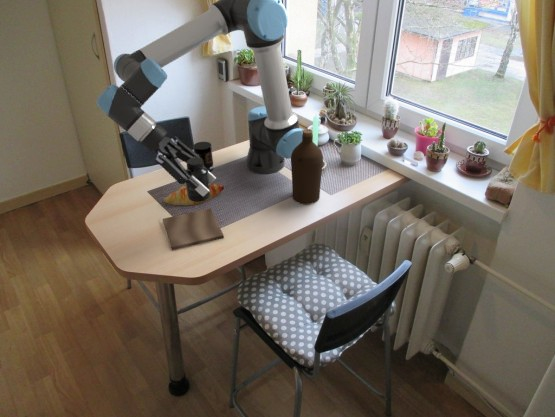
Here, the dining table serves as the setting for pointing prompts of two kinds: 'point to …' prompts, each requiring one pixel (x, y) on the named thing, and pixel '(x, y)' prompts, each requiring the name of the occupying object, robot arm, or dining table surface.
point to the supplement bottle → (200, 173)
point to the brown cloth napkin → (192, 229)
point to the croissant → (182, 197)
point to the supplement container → (205, 154)
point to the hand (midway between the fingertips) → (209, 186)
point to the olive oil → (306, 170)
